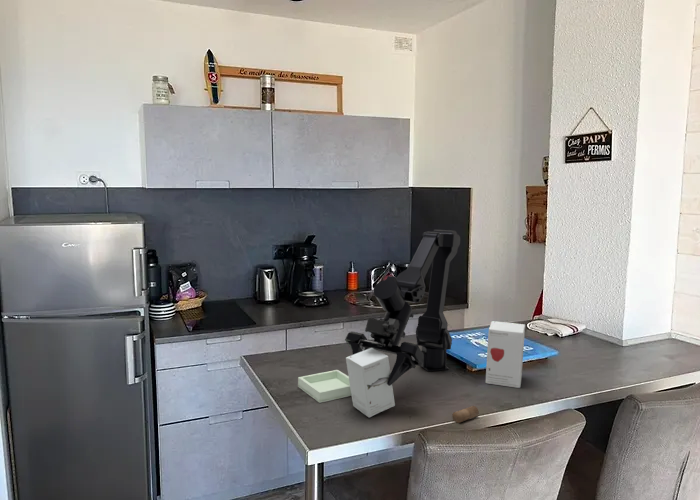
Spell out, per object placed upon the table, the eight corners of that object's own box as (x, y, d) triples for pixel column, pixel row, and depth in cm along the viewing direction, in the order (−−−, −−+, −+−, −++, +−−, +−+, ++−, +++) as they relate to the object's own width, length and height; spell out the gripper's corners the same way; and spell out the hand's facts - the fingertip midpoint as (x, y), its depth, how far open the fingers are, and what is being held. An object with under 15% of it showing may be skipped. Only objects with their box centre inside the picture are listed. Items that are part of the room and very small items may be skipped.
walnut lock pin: (469, 413, 123) (471, 403, 123) (477, 418, 121) (479, 409, 121) (451, 419, 120) (453, 410, 119) (459, 425, 118) (461, 415, 117)
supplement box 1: (369, 418, 119) (361, 366, 116) (352, 406, 126) (344, 356, 123) (396, 406, 123) (389, 355, 120) (378, 394, 129) (371, 346, 126)
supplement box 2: (484, 383, 142) (487, 328, 140) (488, 372, 150) (490, 320, 148) (520, 388, 138) (524, 332, 137) (522, 377, 147) (525, 323, 145)
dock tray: (337, 378, 144) (337, 369, 143) (360, 393, 134) (361, 383, 133) (298, 386, 137) (298, 377, 137) (319, 402, 128) (319, 392, 127)
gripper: (349, 298, 130) (322, 355, 122) (420, 309, 120) (395, 372, 112) (366, 323, 137) (341, 378, 129) (433, 335, 127) (411, 395, 119)
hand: (370, 380), depth 122 cm, fingers closed on supplement box 1, 9 cm apart
